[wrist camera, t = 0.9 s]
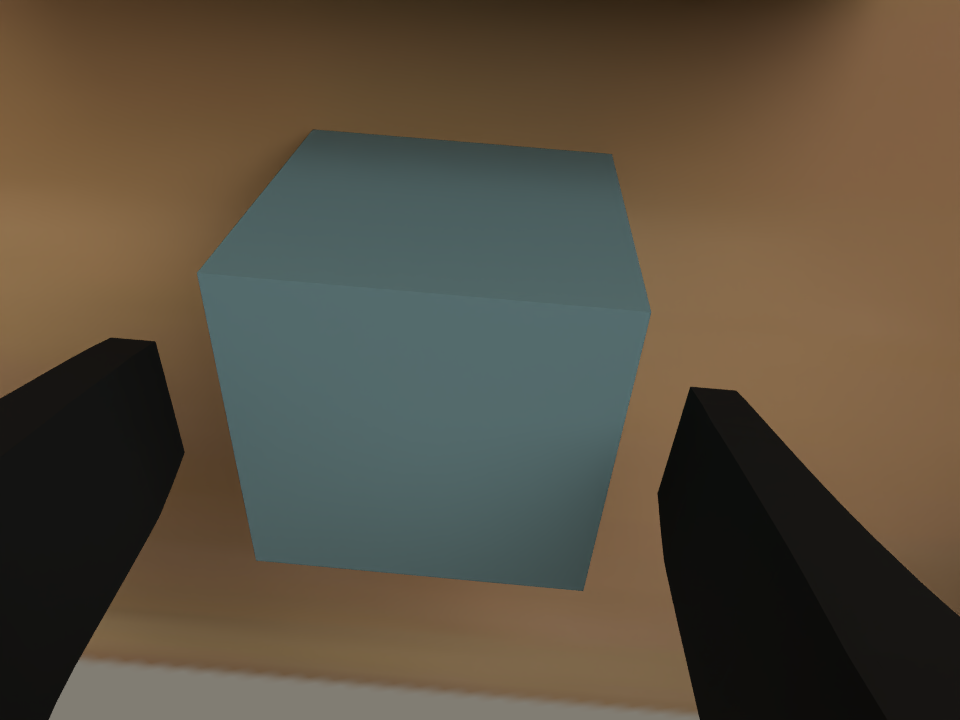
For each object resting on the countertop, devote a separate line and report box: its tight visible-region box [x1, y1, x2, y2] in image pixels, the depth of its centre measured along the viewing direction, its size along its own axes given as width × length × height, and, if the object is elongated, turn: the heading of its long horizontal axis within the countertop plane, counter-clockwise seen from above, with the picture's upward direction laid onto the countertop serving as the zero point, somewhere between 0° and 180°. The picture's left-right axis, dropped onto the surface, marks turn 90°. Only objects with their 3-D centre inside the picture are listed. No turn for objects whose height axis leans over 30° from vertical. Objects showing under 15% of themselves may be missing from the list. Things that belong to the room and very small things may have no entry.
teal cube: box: [197, 130, 651, 591], centre depth 11 cm, size 5×5×5 cm
